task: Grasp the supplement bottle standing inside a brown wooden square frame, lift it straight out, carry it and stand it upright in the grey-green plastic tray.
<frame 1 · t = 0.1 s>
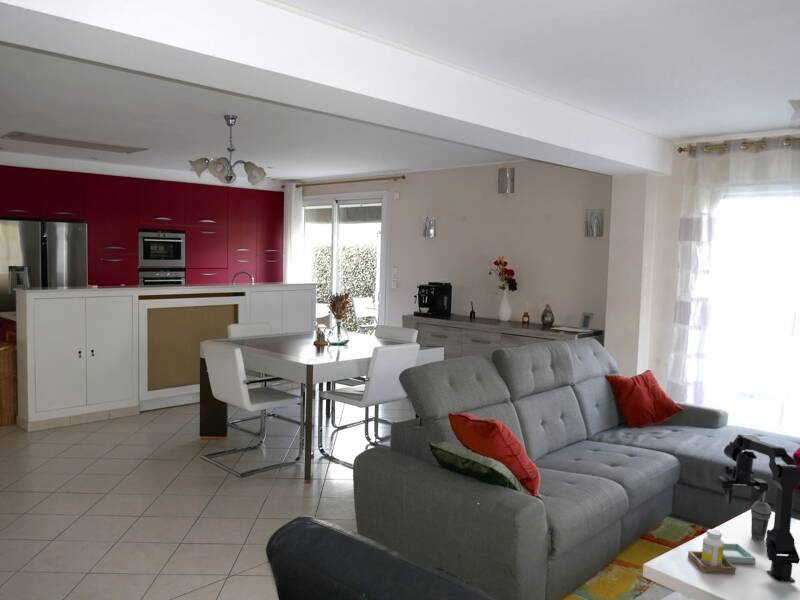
hand: (739, 504, 253), 15 cm above the table, tool pointing down, fingers open, 9 cm apart
supplement bottle: (710, 566, 231), resting in brown wooden square frame
beverage cup: (757, 539, 256), on the table
brown wooden square frame: (710, 565, 231), on the table
tray: (731, 556, 240), on the table
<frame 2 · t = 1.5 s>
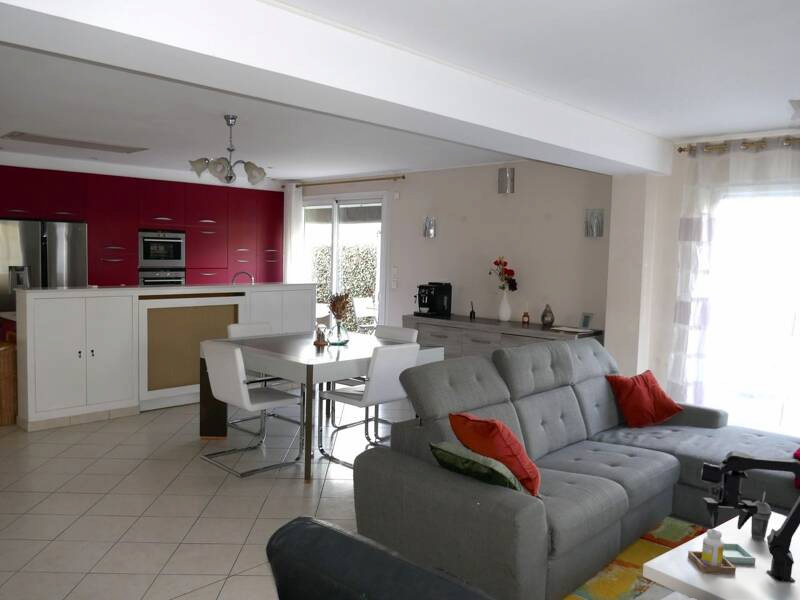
hand: (726, 528, 233), 13 cm above the table, tool pointing down, fingers open, 9 cm apart
nothing on the table moved.
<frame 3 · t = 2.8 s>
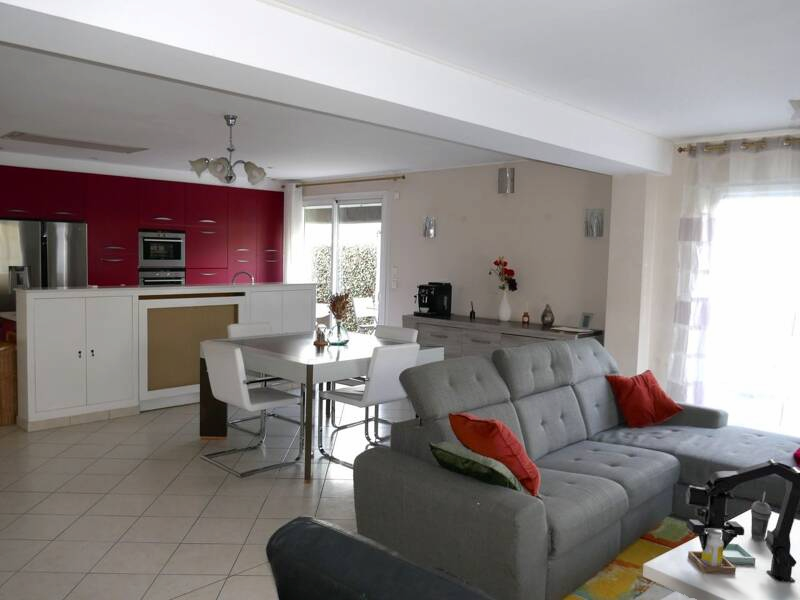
hand: (712, 549, 231), 6 cm above the table, tool pointing down, fingers closed on supplement bottle, 7 cm apart
supplement bottle: (710, 566, 231), resting in brown wooden square frame, touching gripper
everything else where it was.
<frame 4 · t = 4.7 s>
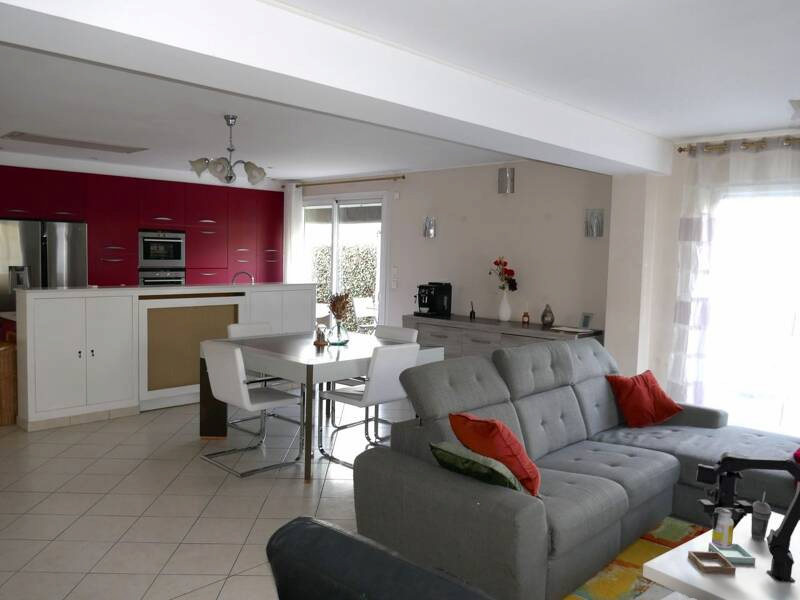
hand: (722, 529, 233), 13 cm above the table, tool pointing down, fingers closed on supplement bottle, 7 cm apart
supplement bottle: (721, 545, 233), point 6 cm above the table, touching gripper
everything else where it was.
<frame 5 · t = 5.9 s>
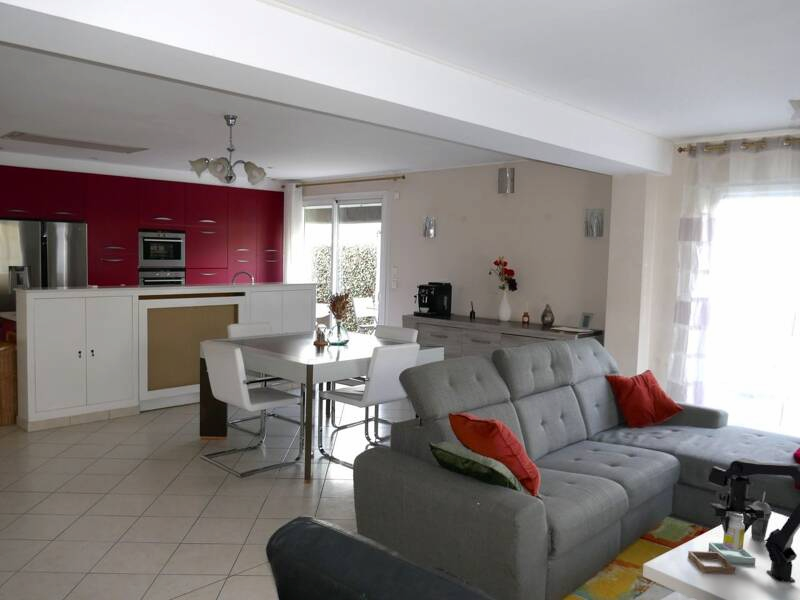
hand: (734, 532, 239), 9 cm above the table, tool pointing down, fingers closed on supplement bottle, 7 cm apart
supplement bottle: (732, 548, 239), point 3 cm above the table, touching gripper
everything else where it was.
when the fingers open (8 cm above the table, at t = 6.7 s): supplement bottle stays where it is, resting on tray.
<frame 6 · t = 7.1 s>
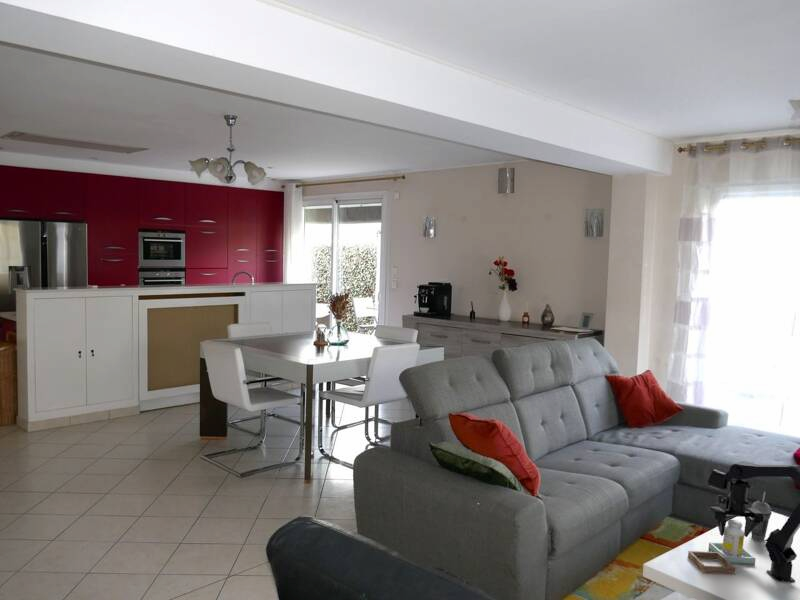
hand: (733, 535, 239), 8 cm above the table, tool pointing down, fingers open, 9 cm apart
supplement bottle: (731, 555, 239), resting on tray
everything else where it was.
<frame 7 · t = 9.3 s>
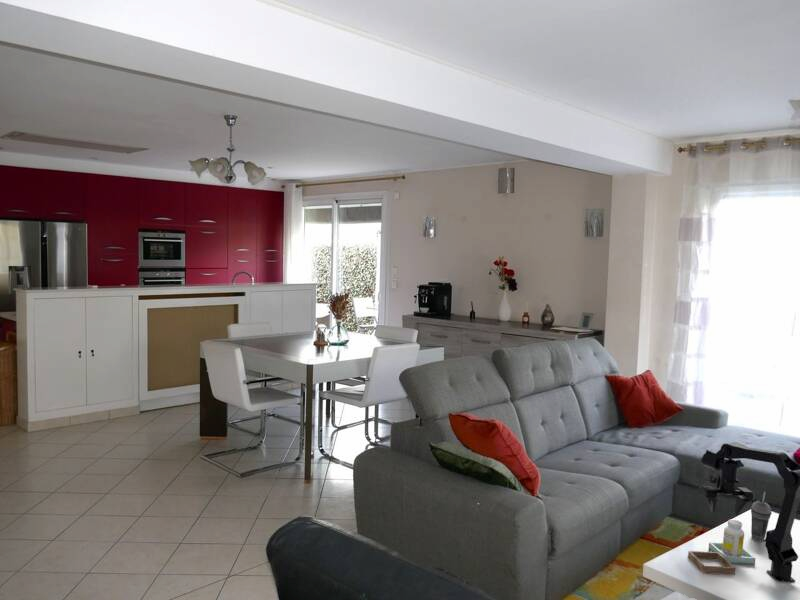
hand: (724, 514, 246), 13 cm above the table, tool pointing down, fingers open, 9 cm apart
nothing on the table moved.
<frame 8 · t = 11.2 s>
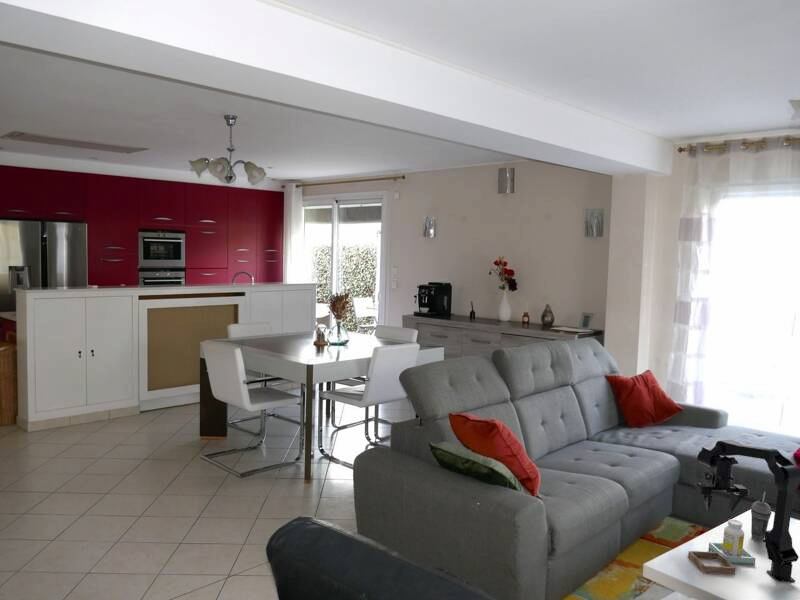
hand: (719, 510, 249), 13 cm above the table, tool pointing down, fingers open, 9 cm apart
nothing on the table moved.
at the end: supplement bottle 0.1 cm from the tray (horizontally); supplement bottle tilted 0°; the gripper is holding nothing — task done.
